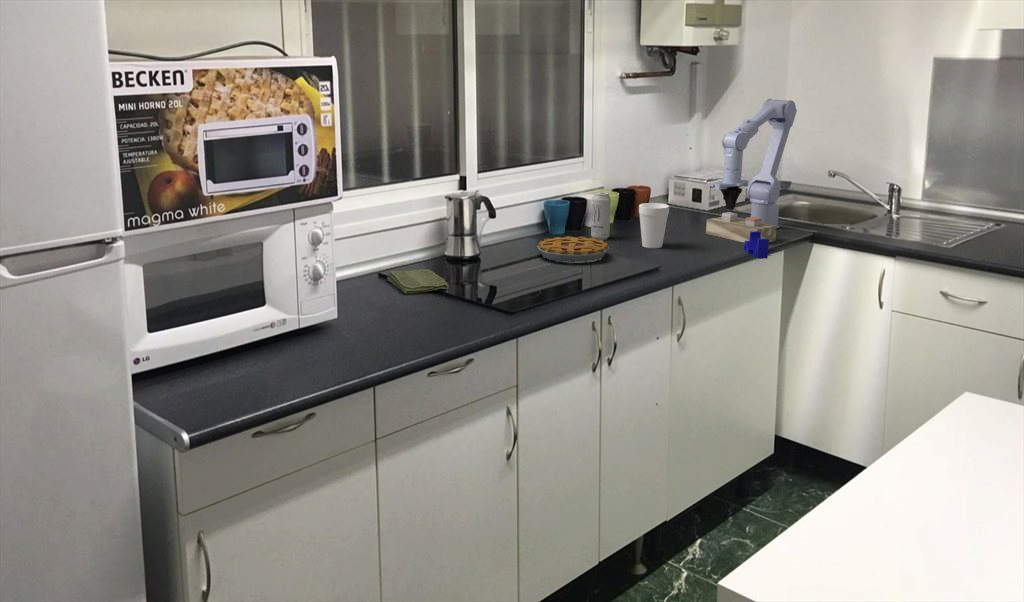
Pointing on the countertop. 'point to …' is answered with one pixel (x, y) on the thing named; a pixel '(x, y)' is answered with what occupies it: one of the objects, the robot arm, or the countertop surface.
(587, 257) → the pie
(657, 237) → the foam cup
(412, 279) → the washcloth
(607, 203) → the energy drink can
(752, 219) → the orange block
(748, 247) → the blue angular block
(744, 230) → the button block
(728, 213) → the matte grey cube
